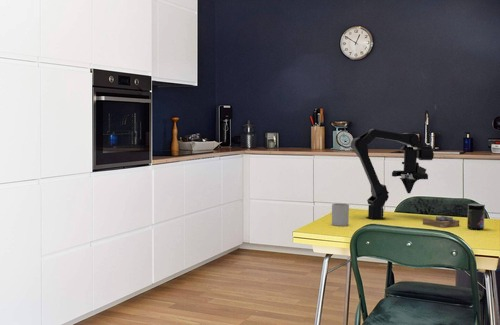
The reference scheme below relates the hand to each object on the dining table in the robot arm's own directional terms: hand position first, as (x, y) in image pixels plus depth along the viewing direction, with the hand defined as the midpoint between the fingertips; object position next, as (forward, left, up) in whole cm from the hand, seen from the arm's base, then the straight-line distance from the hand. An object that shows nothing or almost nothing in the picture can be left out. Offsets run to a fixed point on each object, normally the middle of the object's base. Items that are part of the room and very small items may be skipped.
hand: (408, 193), depth 294 cm
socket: (-2, -23, -12) cm, 26 cm away
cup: (-42, -1, -12) cm, 43 cm away
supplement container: (+3, -36, -12) cm, 38 cm away
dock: (-2, -21, -12) cm, 24 cm away
